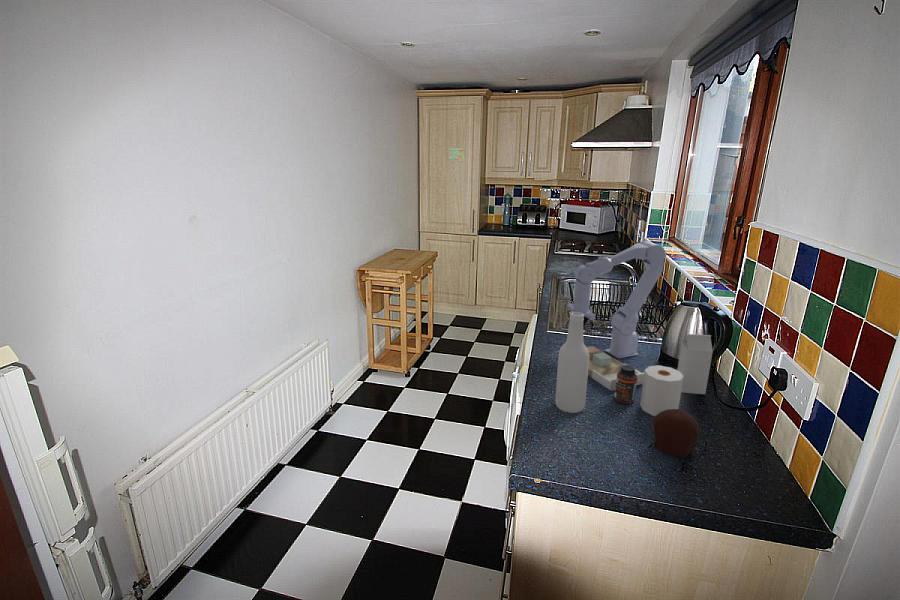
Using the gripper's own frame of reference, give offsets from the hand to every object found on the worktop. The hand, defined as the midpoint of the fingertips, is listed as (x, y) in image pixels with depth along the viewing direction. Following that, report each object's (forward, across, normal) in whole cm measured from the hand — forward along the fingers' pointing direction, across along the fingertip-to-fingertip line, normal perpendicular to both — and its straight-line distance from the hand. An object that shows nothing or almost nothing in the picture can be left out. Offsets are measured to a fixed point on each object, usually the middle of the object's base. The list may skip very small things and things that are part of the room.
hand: (579, 332), depth 171 cm
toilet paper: (+10, +42, -1) cm, 43 cm away
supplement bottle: (+10, +34, -7) cm, 36 cm away
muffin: (+10, +58, -12) cm, 60 cm away
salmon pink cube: (+7, +8, 0) cm, 11 cm away
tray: (+9, +23, 0) cm, 25 cm away
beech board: (+9, +11, 0) cm, 14 cm away
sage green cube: (+7, +14, 0) cm, 16 cm away
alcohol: (+10, +31, -25) cm, 41 cm away
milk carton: (+10, +36, +18) cm, 41 cm away
